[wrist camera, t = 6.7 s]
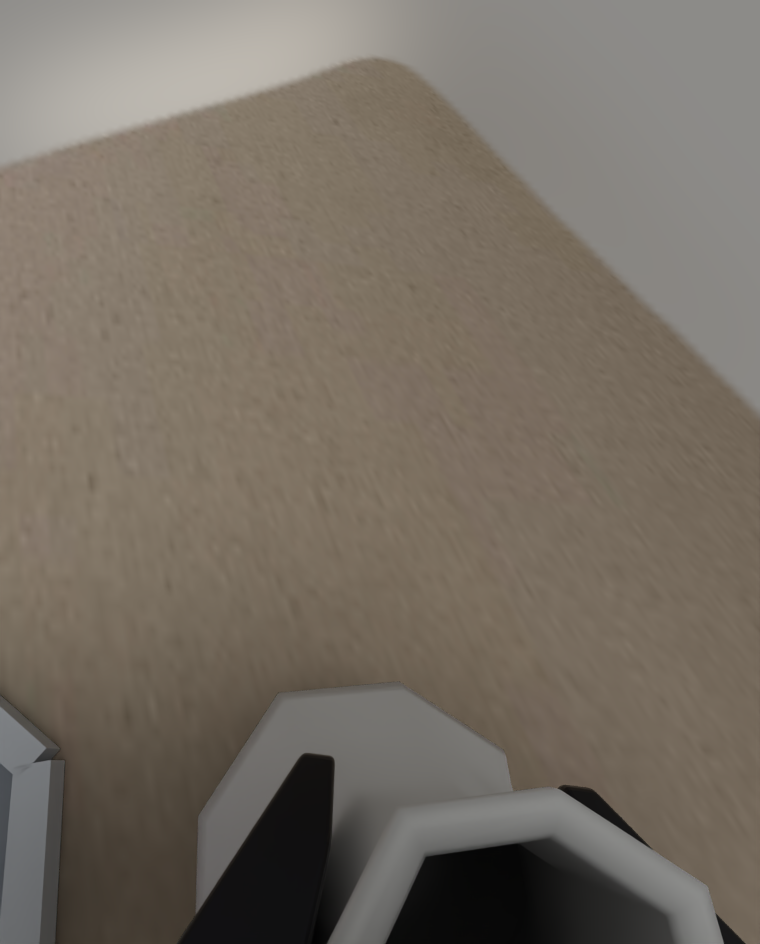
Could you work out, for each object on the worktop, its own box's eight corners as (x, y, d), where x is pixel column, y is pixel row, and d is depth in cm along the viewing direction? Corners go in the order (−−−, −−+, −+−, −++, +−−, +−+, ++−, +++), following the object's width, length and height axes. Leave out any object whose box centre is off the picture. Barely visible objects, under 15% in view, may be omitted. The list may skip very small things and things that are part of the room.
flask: (252, 646, 14) (199, 450, 5) (539, 719, 14) (939, 644, 6) (130, 1035, 11) (-539, 2199, 2) (505, 1123, 11) (1370, 2531, 2)
